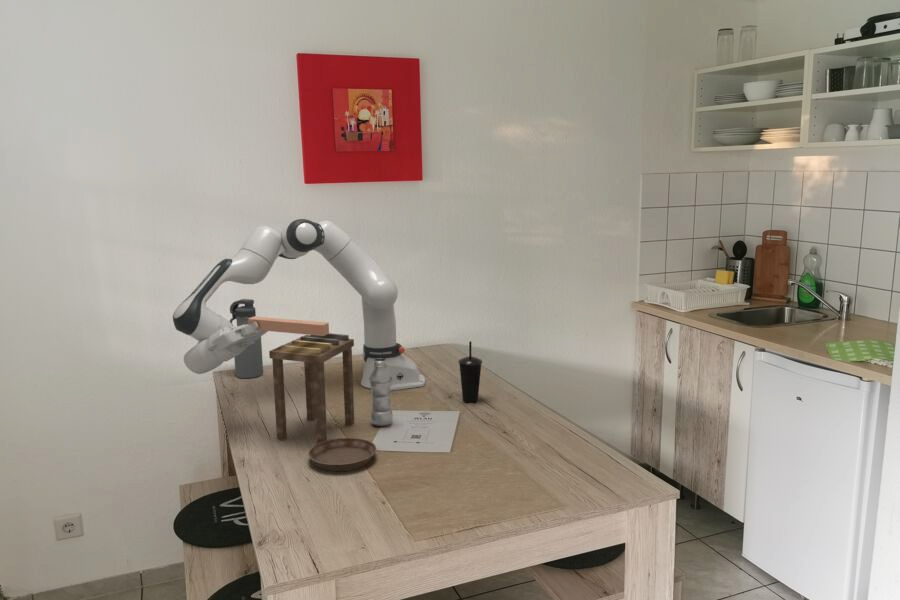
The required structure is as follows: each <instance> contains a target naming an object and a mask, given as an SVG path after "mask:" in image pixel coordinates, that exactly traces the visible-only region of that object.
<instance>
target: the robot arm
mask: <svg viewBox="0 0 900 600" xmlns="http://www.w3.org/2000/svg"><path fill="white" fill-rule="evenodd" d="M311 251H315V252H317V253H318V254H320V255H321V256H322V257H323V258H324V259H325V261H327V262H328V263H329V264H330V265H331V266H332V267H333V269H335V270H336V271H337V272H338V273H339V274H340V276H342V277H343V278H344V279H345V280H346V281H347V283H348V284H350V285H351V287H352V288H354V290H355V291H356V292H357V293H358V294H359V295H360V296H361V306H362V317H363V336H364V339H363V341H364V344H363V345H362V346H363V347H362V355H363V362H364V363H363V373H362V377H361V378H362V379H361V382H360V385H361V386H363V387H364V388H366V389H371V387H370V381H369V375H370V373H371V371H372V370H373V369H374V366H373V364H374V359H377V358H384V359H386V364H387V366H386V368H387V370H388V371H389V372H390V374H391V386H390V392H391V391H399V390H405V389H413V388H420V387H421V388H422V387H423V386H425V385H426V378H425V376H424V375H423V374H421V373H420V372H419V368H418V365H417V363H416V362H415V361H414V360H412V359H411V358H409V357H408V356H407V355H405V354H404V353H405V347H404V346H403V345H401V344H400V343H399V342H397V321H396V315H395V313H396V312H395V305H394V304H395V303H396V302H397V299H398V294H399V293H398V292H399V291H398V287H397V284H396V283H395V282H394V281H393V279H392V278H391V277H390V276H389V275H388V274H387V273H386V272H385V271H384V270H383V269H382V268H381V267H380V266H379V265H378V264H377V263H376V262H375V261H374V260H373V259H372V258H371V257H370V256H369V254H367V252H365V250H363V248H362V247H361V246H359V244H358V243H356V242H355V240H353V238H352V237H351V236H350V235H348V233H347V232H345V230H343V229H342V228H341V227H340V226H338V225H337V224H335V223H334V222H332V221H331V220H327V219H326V220H322V221H319V222H314V221H312V220H310V219H306V218H298V219H294V220H293V221H291V222H289V223H288V224H286V225H285V226H283V227H282V228H280V230H276V229H275V228H273V227H271V226H267V225H260V226H257V227H256V228H255V229H254V230H253V231H252V233H250V235H248V237H247V238H246V240H245V241H244V242H243V244H242V245H241V248H239V250H238V252H237V253H236V254H235V255H234V256H233V257H231V258H224V259H222V260H220V262H218V263H217V264H216V265H215V266H214V267H213V268H212V269H211V270H210V271H209V273H208V274H207V275H206V276H205V277H204V278H203V279H202V281H201V282H200V283H199V284H198V285H197V286H196V287H195V289H194V290H192V292H191V293H190V295H189V296H187V298H186V299H185V300H183V301H182V302H181V303H180V304H179V305H178V306H177V307H176V308H175V310H174V312H173V315H172V321H173V325H174V328H175V330H176V331H178V332H180V333H183V334H184V335H186V336H190V338H193V339H194V340H196V341H198V342H197V343H196V344H195V345H194V346H193V347H191V348H190V349H188V350H187V352H186V353H185V354H184V355H183V362H184V365H185V367H186V368H187V369H188V370H189V371H191V372H192V373H195V374H197V375H202V374H206V373H208V372H211V371H213V370H215V369H217V368H218V367H219V366H222V364H223V363H225V362H229V361H230V360H232V359H234V357H235V356H237V355H239V354H240V353H242V352H243V351H244V350H245V349H246V348H247V347H249V346H251V345H252V344H254V343H255V342H254V341H255V340H257V339H258V338H259V337H261V338H262V336H264V335H265V334H267V333H268V332H269V331H263V330H255V329H257V328H259V327H260V324H259V322H258V321H256V322H254V323H252V324H250V325H248V324H247V325H240V326H237V325H236V326H234V324H233V322H232V323H231V322H230V320H228V319H227V318H225V317H224V316H222V315H220V314H218V313H216V312H215V311H213V310H211V309H210V308H208V307H207V306H206V305H207V302H208V301H209V300H210V298H211V297H212V296H213V295H214V293H216V292H217V290H218V289H219V287H221V285H222V284H223V283H227V282H234V283H237V284H242V285H255V284H258V283H261V282H262V281H263V280H265V279H266V278H267V276H268V274H269V273H270V271H271V269H272V267H273V266H274V263H275V262H276V260H277V258H278V257H281V258H283V259H286V260H295V259H298V258H300V257H303V256H305V255H308V253H309V252H311ZM266 318H268V317H266Z"/></svg>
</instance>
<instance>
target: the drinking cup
mask: <svg viewBox="0 0 900 600" xmlns="http://www.w3.org/2000/svg"><path fill="white" fill-rule="evenodd" d="M468 346H469V349H468V351H469V356H465V357H462V358H459V359H458V364H459V372H460V373H459V375H460V383H461V394H462V402H463V403H464V402H465V404H468V403H473V404H477V403H478V402H477V401H479V392H480V391H479V390H480V380H481V370H482V363H483V360H482V359H481V358H478V357H475V356H472V341H469V345H468ZM476 402H477V403H476Z"/></svg>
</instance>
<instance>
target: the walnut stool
mask: <svg viewBox="0 0 900 600" xmlns="http://www.w3.org/2000/svg"><path fill="white" fill-rule="evenodd" d="M349 337H350V336H349V334H343V333H331V332H329V334H327V335H325V336H318V335H307V334H304V335H302V336H300V337H297V338H296V339H294V340H291V341H289V342H287V343H284V344H282V345H279V346H277V347H276V348H273V349H271V350H269V351H268V352H269V359H271V360H272V361H271V362H272V378H273V379H272V380H273V393H274V395H273V396H274V409H275V426H276V427H275V428H276V440H277V439H278V440H277V441H282V440H283V441H285V440H286V439H288V432H287V431H288V430H287V429H288V427H287V416H286V415H287V412H286V396H285V379H284V378H285V377H284V361H293V362H302V363H303V364H304V382H305V383H304V385H305V386H304V388H305V402H306V403H305V406H306V409H305V410H306V421H311V422H313V421H315V423H316V425H315V426H316V445H317V444H319V443H321V442H324V441H328V430H327V429H328V428H327V427H328V426H327V424H328V423H327V404H326V384H325V383H326V379H325V362H326V361H328V360H331V359H332V358H334V357H336V356H338V355H340V354H341V353H342V354H341V355H342V369H343V370H342V376H343V380H342V381H343V402H344V405H343V406H344V426H348V427H353V424H354V425H355V406H354V403H355V402H354V401H355V400H354V377H353V376H354V374H353V351H352V349H353V347H354V346H355V341H354V338H349ZM284 439H285V440H284Z"/></svg>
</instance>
